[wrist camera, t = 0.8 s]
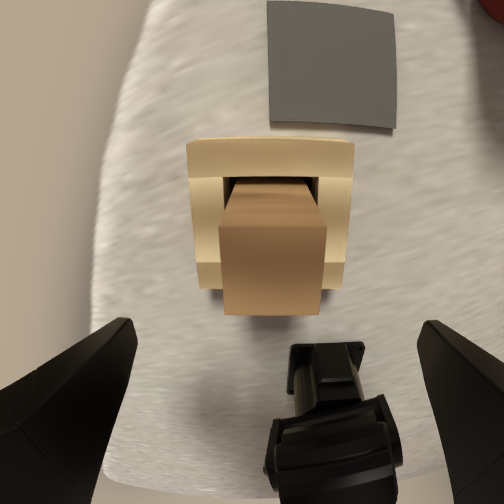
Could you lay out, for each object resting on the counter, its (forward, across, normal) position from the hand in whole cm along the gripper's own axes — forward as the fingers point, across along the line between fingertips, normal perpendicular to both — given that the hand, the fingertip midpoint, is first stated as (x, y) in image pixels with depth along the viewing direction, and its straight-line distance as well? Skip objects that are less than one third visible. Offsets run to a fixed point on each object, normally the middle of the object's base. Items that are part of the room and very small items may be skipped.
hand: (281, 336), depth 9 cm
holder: (+13, 0, 0) cm, 13 cm away
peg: (+13, 0, 0) cm, 13 cm away
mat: (+13, -4, -10) cm, 16 cm away
